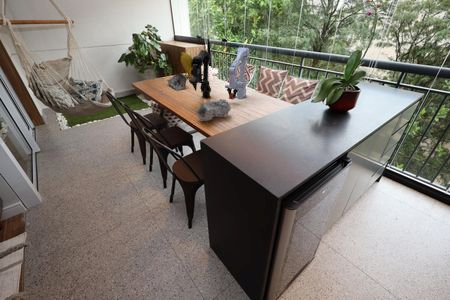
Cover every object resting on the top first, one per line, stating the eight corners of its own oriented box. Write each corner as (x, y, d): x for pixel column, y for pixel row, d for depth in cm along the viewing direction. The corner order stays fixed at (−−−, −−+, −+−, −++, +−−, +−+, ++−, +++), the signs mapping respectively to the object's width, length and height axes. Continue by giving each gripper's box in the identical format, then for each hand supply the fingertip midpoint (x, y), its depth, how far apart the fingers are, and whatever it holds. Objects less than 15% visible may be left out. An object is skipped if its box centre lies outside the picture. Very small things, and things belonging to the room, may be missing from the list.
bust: (212, 120, 140) (239, 108, 156) (200, 99, 140) (228, 90, 156) (203, 130, 153) (228, 118, 170) (191, 111, 154) (218, 101, 170)
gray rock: (192, 83, 223) (180, 73, 240) (188, 78, 216) (175, 68, 233) (181, 95, 223) (169, 84, 240) (176, 91, 217) (164, 80, 234)
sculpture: (191, 75, 276) (188, 51, 262) (201, 77, 256) (198, 51, 242) (178, 77, 267) (174, 52, 252) (186, 80, 247) (182, 52, 232)
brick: (231, 97, 187) (231, 92, 184) (235, 98, 185) (235, 93, 182) (228, 98, 183) (228, 94, 181) (232, 99, 181) (232, 95, 179)
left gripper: (183, 73, 168) (185, 92, 176) (200, 76, 159) (201, 96, 168) (192, 71, 175) (194, 88, 184) (209, 74, 166) (210, 92, 175)
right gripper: (223, 81, 176) (223, 96, 184) (237, 84, 169) (236, 99, 177) (227, 79, 181) (227, 94, 189) (241, 82, 174) (240, 97, 182)
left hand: (199, 91), depth 177 cm, fingers open, 9 cm apart
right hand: (232, 96), depth 183 cm, fingers closed on brick, 4 cm apart
